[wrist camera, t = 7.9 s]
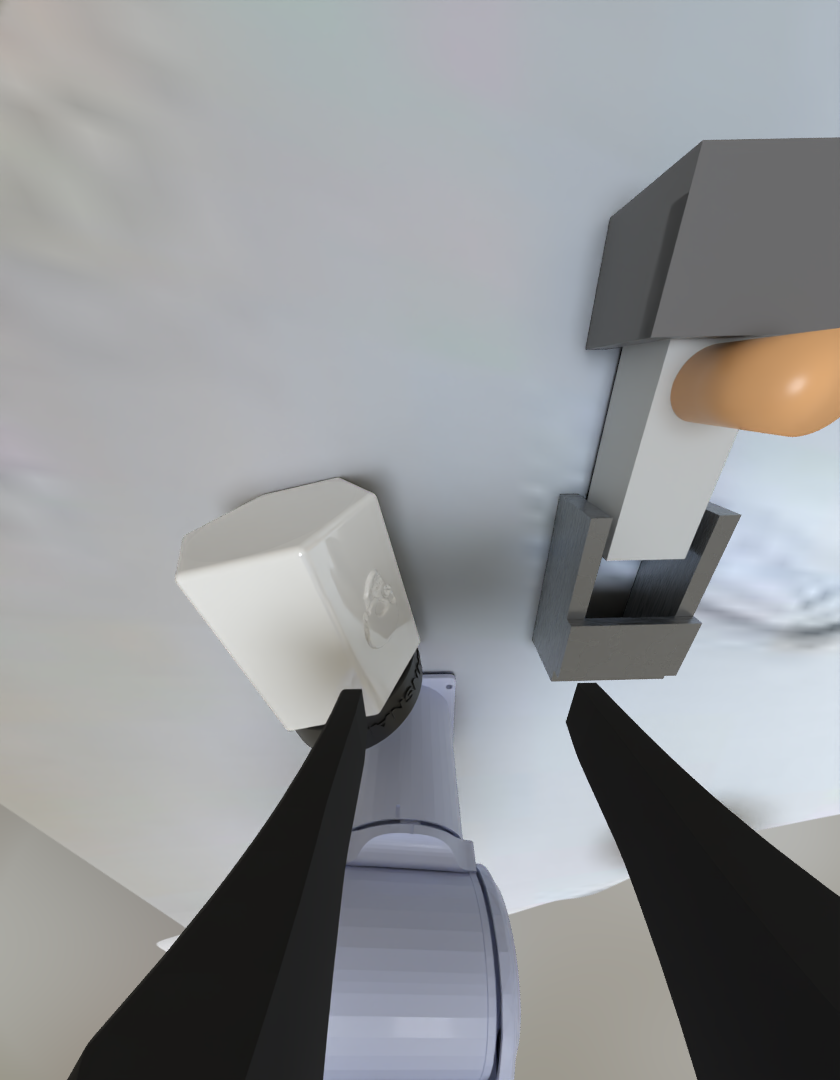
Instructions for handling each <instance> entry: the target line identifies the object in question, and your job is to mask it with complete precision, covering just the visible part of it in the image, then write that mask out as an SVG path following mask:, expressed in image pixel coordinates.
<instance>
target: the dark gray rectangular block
mask: <svg viewBox="0 0 840 1080" xmlns="http://www.w3.org/2000/svg"><path fill="white" fill-rule="evenodd" d="M835 328H840V138H790V139H738V140H703V141H701V142H700V143H699V144H698V145H697V146H696V147H694V148H693V149H692V150H691V151H690V152H688V153H687V154H686V155H685V156H684V157H682V158H681V159H680V160H679V161H678V162H676V163H675V164H674V165H673V166H672V167H670V168H669V169H668V170H667V171H666V172H665V173H663V174H662V175H661V176H660V177H659V178H657V179H656V180H655V181H654V182H653V183H651V184H650V185H649V186H648V187H647V188H645V189H644V190H643V191H642V192H641V193H639V194H638V195H637V196H636V197H635V198H634V199H632V200H631V201H630V202H629V203H628V204H626V205H625V206H624V207H623V208H622V209H620V210H619V211H618V212H617V213H616V214H614V215H613V216H612V217H611V218H610V222H609V228H608V233H607V238H606V244H605V249H604V254H603V260H602V265H601V270H600V276H599V281H598V286H597V292H596V297H595V302H594V307H593V313H592V318H591V323H590V329H589V334H588V339H587V345H586V350H596V349H612V348H617V347H623V346H629V345H635V344H641V343H647V342H653V341H659V340H665V339H704V338H750V337H772V336H780V335H788V334H796V333H804V332H811V331H819V330H827V329H835Z"/></svg>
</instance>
